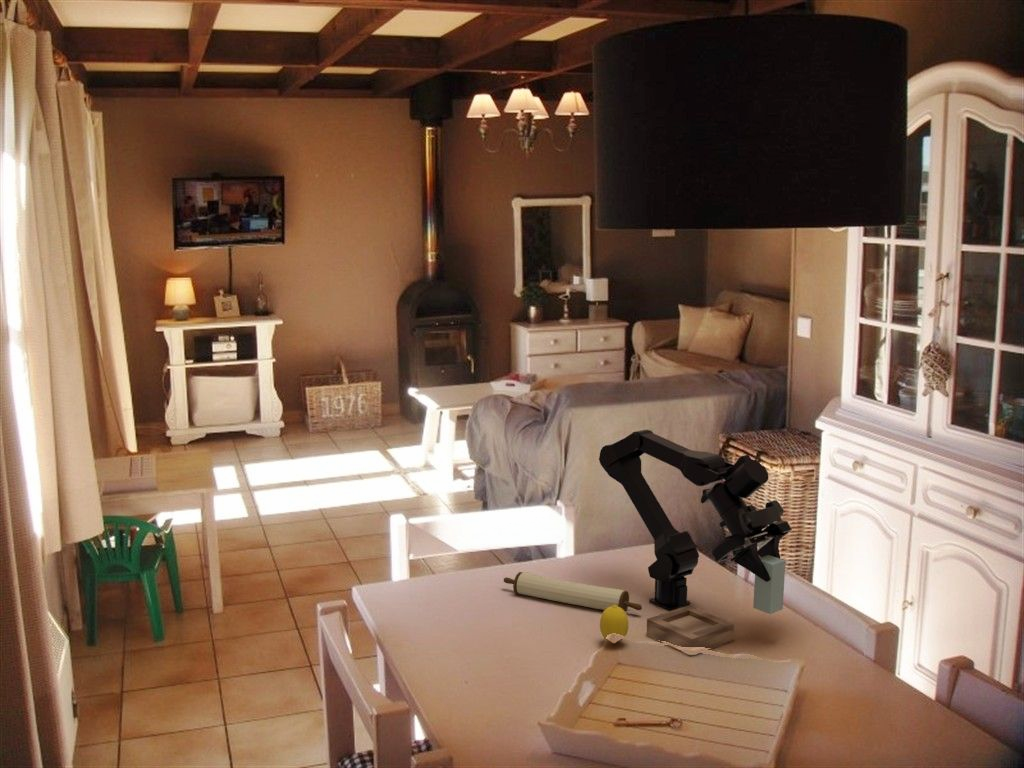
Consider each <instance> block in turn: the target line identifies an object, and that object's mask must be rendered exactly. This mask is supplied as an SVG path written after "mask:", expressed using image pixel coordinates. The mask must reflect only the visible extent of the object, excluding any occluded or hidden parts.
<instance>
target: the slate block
mask: <svg viewBox="0 0 1024 768" xmlns="http://www.w3.org/2000/svg"><path fill="white" fill-rule="evenodd" d="M780 558H781V557H780ZM780 558H777V557H774V556H770V555H767V556H764V557H760V559H761V561H762V563H763V564H764V566H765V568H766V570H767V572H768V574H769V576H770V578H771V580H770V581H768V582H765V581H764V580H762V579H761V578H759V577H758V576H757V575H755V574H754V587H753V605H752V606H753V607H752V608H753V609H754V610H758V611H760V612H763V613H766V614H769V615H771V614H775V613H777V612H780V611H782V610H783V609H784V596H785V595H784V591H785V580H786V579H785V575H786V560H785V559H784V558H783V559H782V558H781V559H780Z"/></svg>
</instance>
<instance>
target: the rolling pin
mask: <svg viewBox="0 0 1024 768" xmlns="http://www.w3.org/2000/svg"><path fill="white" fill-rule="evenodd" d="M503 582H504V583H505V584H509V585H512V587H513V589H512V590H513V593H514V594H515V595H518V596H519V595H523V596H529V597H533V598H539V599H544V600H549V601H554V602H559V603H564V604H570V605H575V606H580V607H581V606H582V607H585V608H592V609H597V610H602V611H604V610H605V609H606V608H608V607H610V606H613V605H617V606H618V607H620V608H622V609H623V610H624V611H625V613H626V612H627V610H628V608H632V609H633V610H636V611H641V610H642V604H640V603H636V602H631V601H630V594H629V592H628V591H627V590H625V589H618V588H612V587H605V586H598V585H591V584H585V583H580V582H573V581H569V580H562V579H558V578H552V577H547V576H542V575H538V574H535V573H531V572H526V571H524V572H522V571H519V572H518V573H517V574H515V577H514V579H513V578H510V577H504V578H503Z"/></svg>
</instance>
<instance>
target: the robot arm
mask: <svg viewBox="0 0 1024 768" xmlns="http://www.w3.org/2000/svg"><path fill="white" fill-rule="evenodd" d="M599 451H600V452H599V456H598V461H599V464H600V466H601V467H602V469H603V470H604V471H605V472H606V473H607V475H608V476H609V477H611V479H613V480H615V481H616V482H618V483H619V484H621V486H622V487H623V489H624V491H625V492H626V495H628V497H629V499H630V501H631V502H632V504H633V506H634V508H635V510H636V511H637V513H638V515H639V516H640V518H641V519H642V521H643V524H644V525H645V526H646V528H647V530H648V532H649V533H650V536H651V537H652V539H653V540H654V541H653V542H654V543H653V544H654V547H653V549H654V556H655V559H656V560H655V561H654V562H653V563H651V564H650V565H649V566H648V567H647V569H648V574H649V578H651V579H653V580H654V597H652V598H649V602H650V603H652V604H654V605H657V606H658V607H661V608H663V609H666V610H667V611H673V610H676V609H679V608H682V607H685V606H688V605H691V603H692V601H690V600H689V599H688V585H687V579H688V578H687V577H686V576H690V575H692V574H693V573H694V570H695V568H696V567H697V565H698V563H699V558H700V554H699V551H698V549H697V548H698V545H697V544H696V543H695V542H694V540H693V539H692V536H691V535H690V533H689V532H688V531H687V530H684V531H682V532H680V531H678V530H677V529H676V528H675V527H674V525H673V524H672V522H671V521H670V519H669V517H668V515H667V514H666V512H665V510H664V509H663V507H662V506H661V504H660V502H659V501H658V499H657V497H656V496H655V494H654V492H653V490H652V488H651V487H650V485H649V484H648V482H647V481H646V479H645V477H644V476H643V473H642V458H641V456H643V455H644V454H646V455H648V456H650V457H652V458H654V459H656V460H658V461H661V462H663V463H666V464H667V465H670V466H671V467H674V468H675V469H677V470H679V471H680V472H681V474H682V476H683V477H684V478H685V479H686V480H688V481H689V482H691V483H692V484H694V485H695V486H697V487H704V486H707V485H711V484H714V485H713V486H712V487H710V488H706V489H702V496H700V503H701V504H706V503H709V502H710V503H711V504H712V506H713V508H714V510H715V511H716V512H717V514H718V516H719V517H720V519H721V522H720V523H719V526H720V527H721V529H724V528H726V529H727V530H728V532H729V533H730V535H728V536H726V537H724V538H723V539H722V540H720V541H719V542H718V543H717V544H715V546H713V547H712V550H711V551H712V552H711V555H712V557H713V558H714V560H715V562H716V563H717V564H718V563H721V562H723V561H726V560H727V559H728V555H729V554H730V553H731V552H732V555H733V557H732V558H731V559H730V562H731V563H735V564H737V565H739V566H741V567H743V568H744V569H746V570H747V571H749V572H751V573H752V574H753V575H754V576H755V575H757V576H758V577H759V578H761V579H762V580H764V581H765V582H768V581H770V580H771V578H770V576H769V574H768V572H767V570H766V568H765V566H764V564H763V563H762V561H761V559H760V558H761V557H764V556H767V555H770V556H774V557H777V558H780V559H782V558H781V555H780V550H779V549H780V547H779V546H780V541H781V540H782V539H783V538H784V537H785V536H786V535H787V534H789V533H790V532H792V531H793V528H792V527H791V526H790V523H788V521H786V520H784V519H782V516H783V515H784V511H785V510H784V508H783V506H782V505H781V504H780V502H778V500H777V499H775V500H771V501H768V502H765V507H764V508H761V509H758V510H757V508H756V507H755V506H754V505H753V504H750V505H747V503H746V502H745V500H744V499H746V498H749V497H751V496H752V495H753V494H754V493H756V492H757V491H758V490H759V489H760V488H761V487H763V486H764V485H765V484H766V483H767V482H768V481H769V473H768V470H767V469H766V467H765V466H764V465H762V464H761V463H760V462H759V461H757V460H756V459H752V458H751V457H750V455H749V454H745V455H744V454H743V455H741V456H740V457H739V458H737V461H736V462H735V463H731V462H728V461H727V460H725V458H724V457H723V456H721V455H720V454H718V453H712V452H709V451H701V450H693V449H689V448H687V447H686V446H685V447H684V446H683V445H680V444H677V443H675V442H673V441H671V440H670V439H667V438H665V437H662V436H660V435H658V434H656V433H654V432H653V431H652V430H649V429H642V430H636V431H633V432H632V433H630V434H629V435H627V436H626V437H624V438H621V439H620V440H618V441H616V442H614V443H611V444H605V445H603V446H602V447H601V449H600V450H599ZM723 480H724V481H723ZM721 481H723V482H721Z"/></svg>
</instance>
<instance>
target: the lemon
mask: <svg viewBox="0 0 1024 768" xmlns="http://www.w3.org/2000/svg"><path fill="white" fill-rule="evenodd" d="M629 625H630V624H629V617H628V616H627V613H626V612H625V611H624V610H623V609H622V608H620V607H618V606H617V605H613V606H610V607H608V608H606V609H605V610H603V612H602V613H601V617H600V619H599V629H600V632H601V636H602V637H603V639H605V640H606V637H607V635H609V634H612V633H616V634H620V635H623V636H625V637H626V636H627V635H628V631H629Z"/></svg>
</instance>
